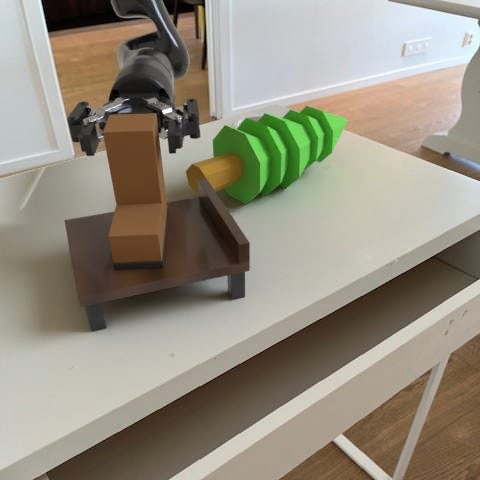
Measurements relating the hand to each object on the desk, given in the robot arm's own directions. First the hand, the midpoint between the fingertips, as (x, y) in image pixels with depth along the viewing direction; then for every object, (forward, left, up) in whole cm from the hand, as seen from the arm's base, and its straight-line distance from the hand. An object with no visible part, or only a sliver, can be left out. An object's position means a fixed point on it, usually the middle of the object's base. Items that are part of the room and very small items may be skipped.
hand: (130, 145), depth 52 cm
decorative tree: (+24, +15, -16) cm, 32 cm away
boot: (0, -1, -10) cm, 10 cm away
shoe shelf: (+1, -2, -15) cm, 15 cm away
